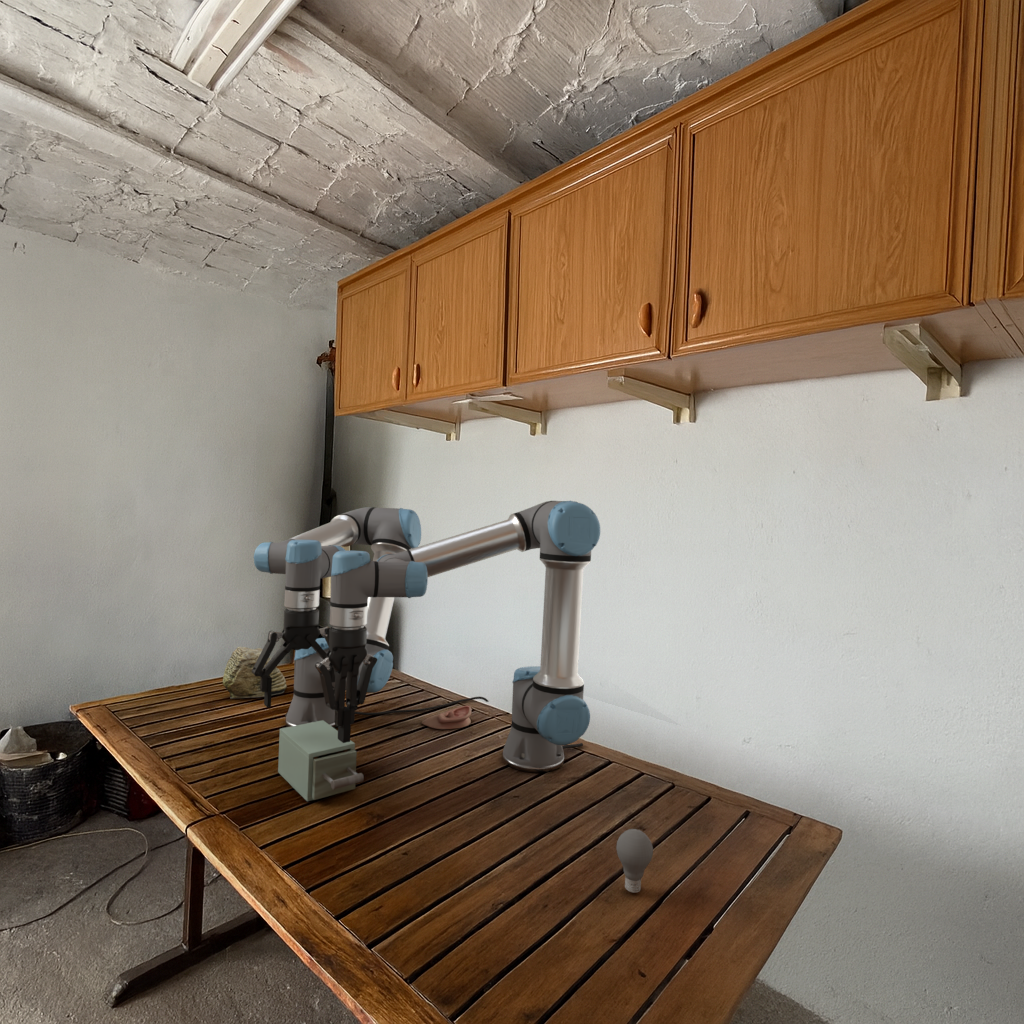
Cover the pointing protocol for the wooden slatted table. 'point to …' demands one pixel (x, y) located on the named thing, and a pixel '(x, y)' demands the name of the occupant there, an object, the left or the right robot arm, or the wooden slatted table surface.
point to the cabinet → (306, 752)
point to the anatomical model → (450, 719)
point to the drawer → (334, 773)
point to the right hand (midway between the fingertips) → (343, 740)
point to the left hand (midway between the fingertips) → (298, 701)
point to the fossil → (248, 675)
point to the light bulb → (634, 857)
